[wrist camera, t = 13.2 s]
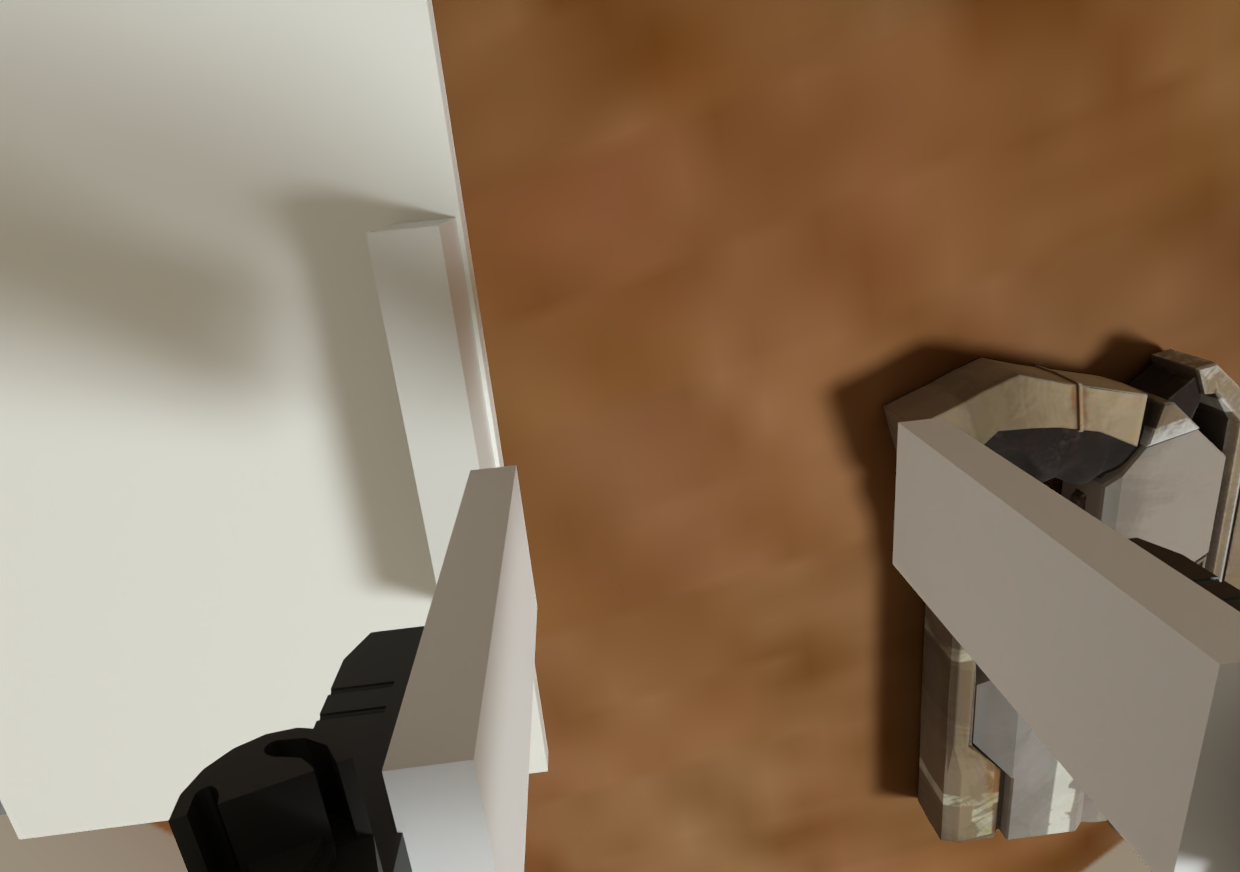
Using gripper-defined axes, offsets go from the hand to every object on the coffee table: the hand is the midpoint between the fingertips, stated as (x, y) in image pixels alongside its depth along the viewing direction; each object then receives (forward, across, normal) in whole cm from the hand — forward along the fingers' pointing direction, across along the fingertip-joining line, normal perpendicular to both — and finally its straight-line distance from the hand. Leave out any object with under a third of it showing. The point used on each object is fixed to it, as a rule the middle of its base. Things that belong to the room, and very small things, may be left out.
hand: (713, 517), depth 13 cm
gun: (+18, +18, -15) cm, 29 cm away
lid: (+7, -12, 0) cm, 14 cm away
